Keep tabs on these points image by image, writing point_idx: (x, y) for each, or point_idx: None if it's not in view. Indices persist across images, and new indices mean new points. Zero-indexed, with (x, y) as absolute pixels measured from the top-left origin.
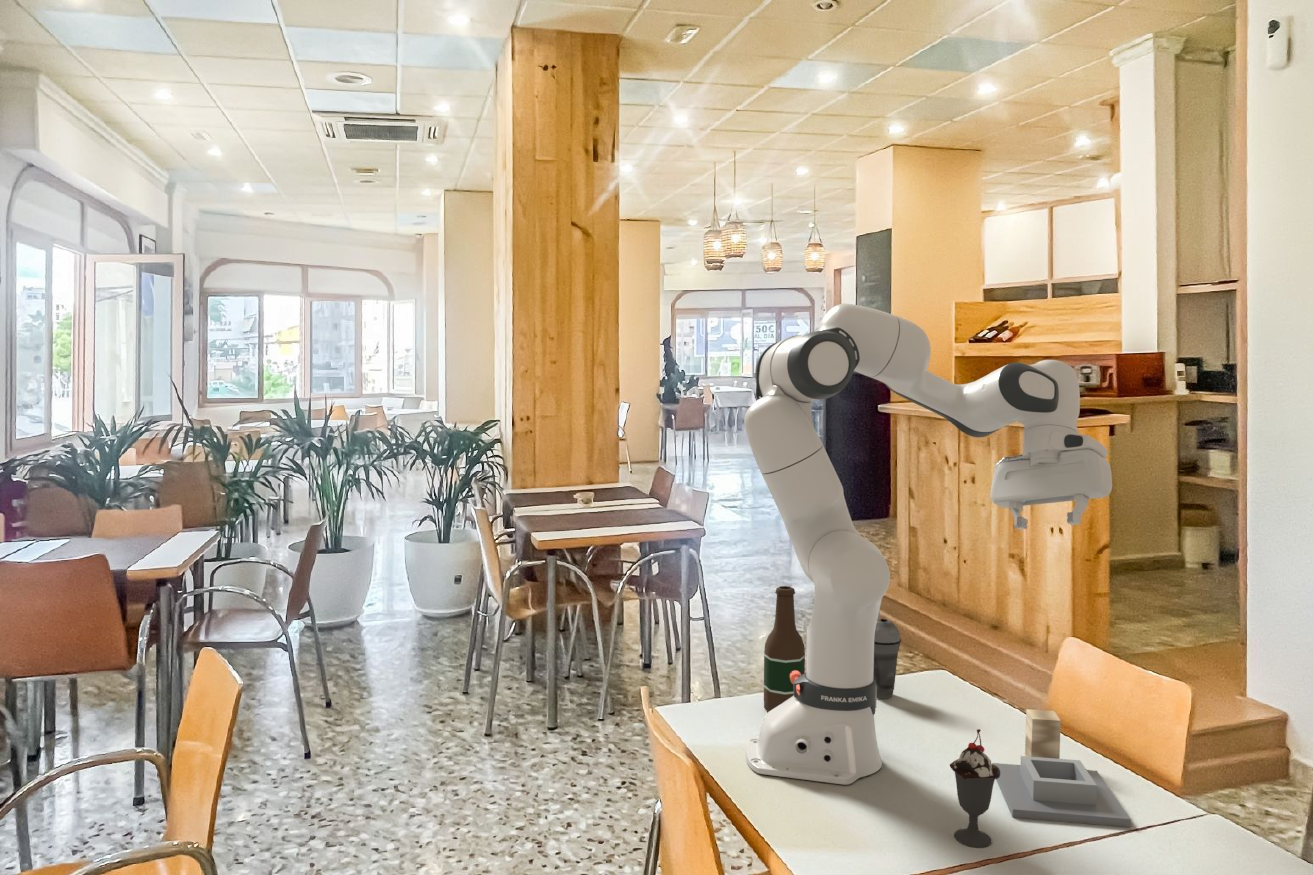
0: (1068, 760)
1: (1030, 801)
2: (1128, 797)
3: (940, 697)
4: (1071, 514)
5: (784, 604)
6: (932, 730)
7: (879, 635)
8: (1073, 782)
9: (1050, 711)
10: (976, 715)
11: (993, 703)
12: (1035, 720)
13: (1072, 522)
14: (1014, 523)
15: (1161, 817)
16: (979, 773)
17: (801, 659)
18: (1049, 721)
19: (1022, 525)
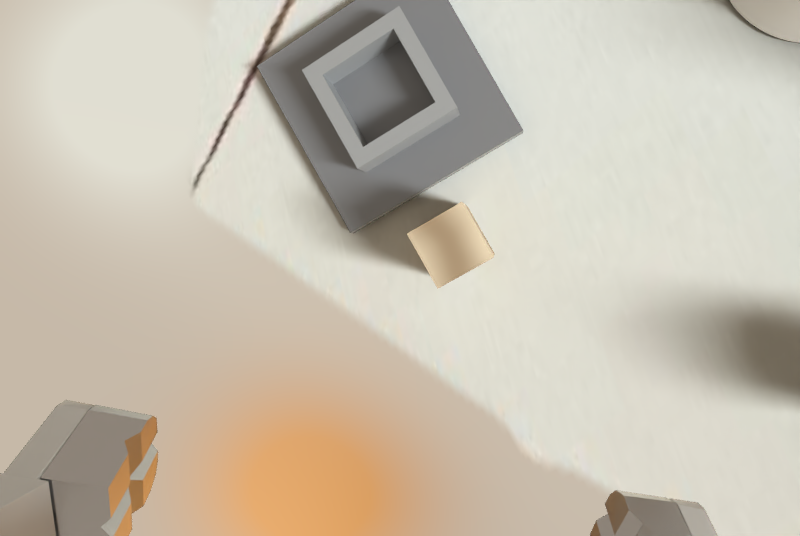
0: (374, 151)
1: (407, 10)
2: (291, 186)
3: (781, 476)
4: (71, 459)
5: None
6: (709, 253)
7: None
8: (338, 52)
9: (442, 278)
10: (658, 409)
11: None
12: (455, 205)
13: (107, 407)
14: (707, 520)
15: (233, 144)
16: None
17: None
18: (428, 221)
19: (617, 501)
